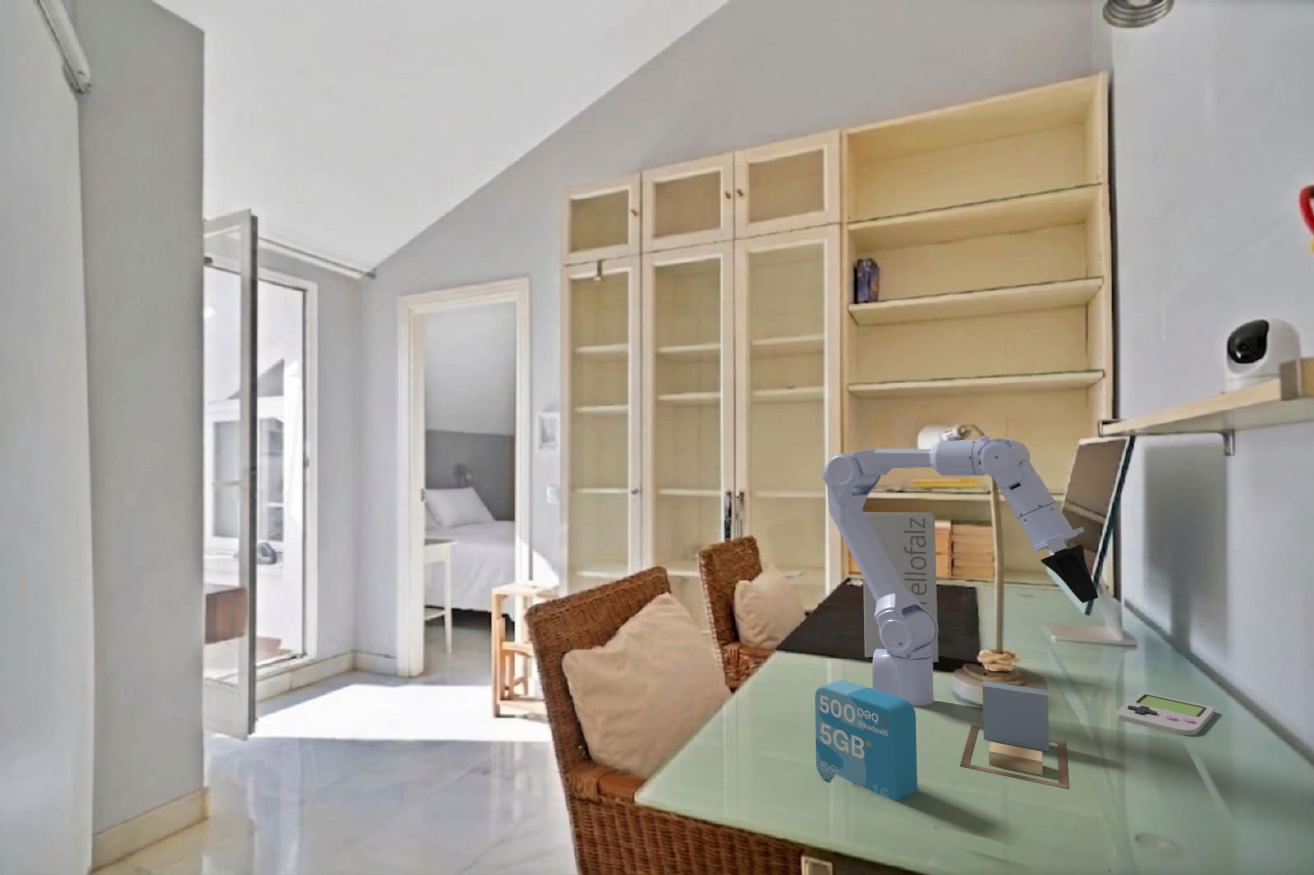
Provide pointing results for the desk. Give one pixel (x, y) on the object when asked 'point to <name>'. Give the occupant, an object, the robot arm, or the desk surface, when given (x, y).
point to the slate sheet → (1016, 715)
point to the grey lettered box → (904, 565)
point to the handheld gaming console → (1165, 714)
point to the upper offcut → (1015, 758)
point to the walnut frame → (1061, 774)
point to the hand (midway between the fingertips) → (1089, 599)
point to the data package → (866, 738)
